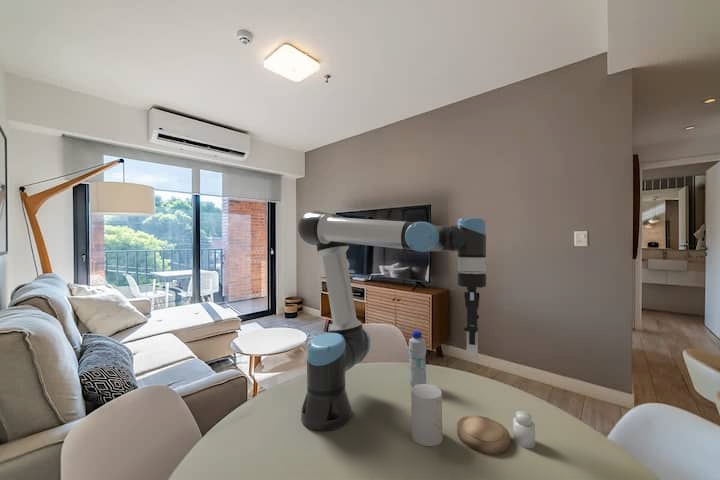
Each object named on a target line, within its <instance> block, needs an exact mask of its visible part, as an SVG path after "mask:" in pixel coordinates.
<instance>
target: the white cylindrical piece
mask: <svg viewBox="0 0 720 480" xmlns="http://www.w3.org/2000/svg"><path fill="white" fill-rule="evenodd" d="M410 391H411V392H410V393H411V396H410V397H411V398H410V399H411V400H410V401H411V406H410V407H411V437H412V439H413V440H414V441H415V442H416V443H418V444H420V445H423V446H426V447H436V446H438V445H440V444H441V443H442V442H443V436H444V435H443V394H442V393H443V392H442V389H440V388H439V387H437V386H436V385H433V384H428V383H426V384H418V385H415V386H411V389H410Z"/></svg>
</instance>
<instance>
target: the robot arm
mask: <svg viewBox="0 0 720 480" xmlns="http://www.w3.org/2000/svg"><path fill="white" fill-rule="evenodd" d="M297 230H298V235H299V237H300V238H301V240H303V242H305V243H307V244H309V245H313V246H314V245H315V246H316V252H317V254H319V255H320V256H321V257H322V261H323V262H322V263H323V269H324V276H325V282H326V289H327V295H328V301H329V308H330V314H331V320H332V324H331V325H330V327H329V328H328V329H329V330H328V331H329V332H326V333H324V334H321V333H320V334H318V335H316V336H314V337H312V338H311V339H310V340H309V342H308V344H307V351H306V381H307V382H306V383H307V384H306V386H307V390H306V394H305V397H304V401H303V403H302V407H301V413H300V415H301V417H300V418H301V419H300V420H301V423H302V424H303V425H304V426H305V427H306V426H307V427H306V428H309V429H311V430H314V431H320V432H323V431H326V432H327V431H332V430H337V429H338V428H341V427H343V426H345V425H346V424H348V422H349V421H350V419H351V418H352V405H351V402H350V400H349V395H348V393H347V389H346V372H347V371H349V370H351V369H352V368H353V367H355V366H356V365H358V364H359V363H361V362H362V361H363V360H364V359H365V358H366V357H367V355H368V354H369V353H370V350H371V343H372V342H371V338H370V335H369V333H368V332H367V331H366V330H365V328H363V323H362V321H361V320H359V319H358V318H357V313H356V307H355V301H354V296H353V290H352V289H353V288H352V283H351V282H352V281H351V277H350V272H349V270H350V269H349V263H348V260H347V251H348V250H349V248H350V245H349V244H353V245H363V246H371V247H372V246H374V247H382V248H392V249H399V250H400V249H401V250H407V251H408V250H409V251H415V252H417V253H418V252H420V253H426V252H457V271H459V272H458V273H457V285H458V286H460V287H463V288H464V287H465V288H466V291H464V297H463V298H464V302H465V303H464V307H465V308H466V327H463V331H464V332H466V356H467V357H473V358H474V357H475V358H478V357H479V351H478V349H479V348H478V347H479V346H478V345H479V343H478V342H479V341H478V340H479V338H478V337H479V334H478V331H479V328H478V319H479V318H480V315H479V314H478V309H479V307H480V306H479V305H480V303H479V301H480V299H481V298H480V296H481V295H480V292H477V290H478V289H477V288H479V289H480V288H481V289H482V288H486V286H487V274H486V273H485V272H486V271H487V266H486V265H489V260H487V228H486V221H485V220H484V219H483V218H482V217H462V218H459V219H457V224H456V225H435V224H433V223H430V222H428V221H422V220H421V221H401V220H387V219H367V218H355V217H354V218H350V217H343V216H341V215H339V214H338V213H337V214H336V213H330V212H324V211H320V210H312V211H311V210H310V211H308V212H306V213H305V214H303V215H302V216H300V219H299V220H298V225H297Z"/></svg>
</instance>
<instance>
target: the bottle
mask: <svg viewBox="0 0 720 480" xmlns="http://www.w3.org/2000/svg"><path fill="white" fill-rule="evenodd" d="M422 335H423V334H422V332H421V331H419V330H414V331H412V335H411V336H412V337H411V338H409V339H408V340H409V341H408V347H407V349H408V353H409V376H408V378H409V379H408V380H409V382H410V385H411V387H413V386H415V385H418V384H427V369H426V368H427V367H426V364H427V363H426V362H427V360H426V358H427V357H426V355H427V344H426V339H424V338H423V337H422Z"/></svg>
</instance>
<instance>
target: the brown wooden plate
mask: <svg viewBox="0 0 720 480" xmlns="http://www.w3.org/2000/svg"><path fill="white" fill-rule="evenodd" d="M456 424H457V425H456V426H457V427H456V430H457V431H456V432H457V433H456V434H457V436H458V439H459V440H460V441H461V443H463V444H464V445H465V446H466V447H468V449H469V448H470V449H472V450H473V451H476V452H478V453H482V454H486V455H501V454H504V453H506V452H507V451H509V450H510V447H511V435H510V432H509V431H508V429H507V427H505V425H503V424H502V423H500V422H498V421H496V420H495V419H493V418H490V417H487V416H483V415H466V416H463V417H461V418H460V419H459V420H458V421H457V423H456Z"/></svg>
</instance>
